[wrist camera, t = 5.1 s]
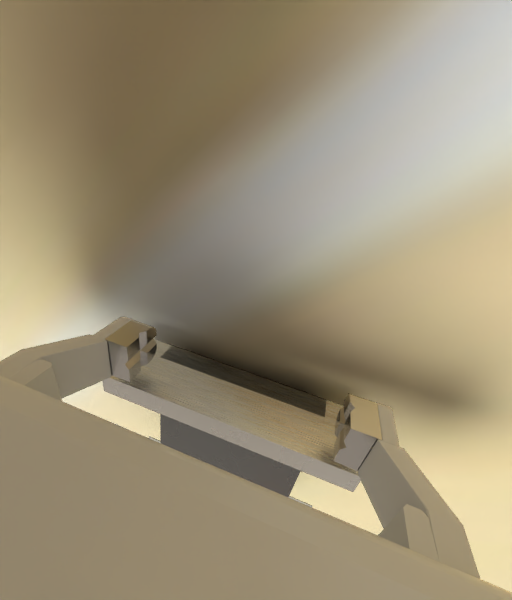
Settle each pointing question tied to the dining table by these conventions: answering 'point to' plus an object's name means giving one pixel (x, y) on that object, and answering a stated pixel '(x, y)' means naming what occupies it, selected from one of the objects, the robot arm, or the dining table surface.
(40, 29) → the dining table surface
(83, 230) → the dining table surface
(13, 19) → the dining table surface
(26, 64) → the dining table surface
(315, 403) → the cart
